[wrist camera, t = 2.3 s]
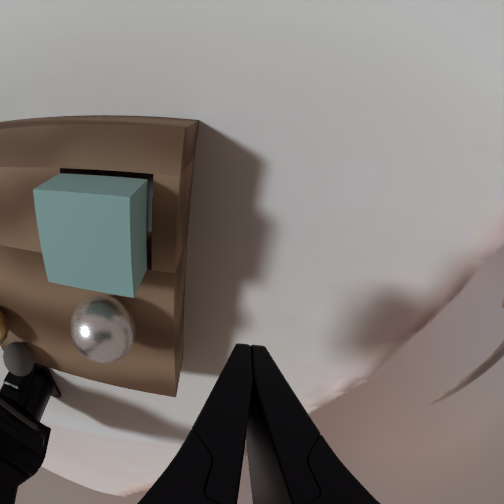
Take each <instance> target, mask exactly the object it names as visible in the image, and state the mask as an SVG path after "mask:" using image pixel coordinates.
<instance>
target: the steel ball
mask: <svg viewBox="0 0 504 504" xmlns="http://www.w3.org/2000/svg"><path fill="white" fill-rule="evenodd" d="M70 330H71V336H72V339H73V342H74V344H75V346H76V347H77V349H78V350H79V351H80V353H81V354H83V355H84V356H85V357H86V358H88V359H90V360H92V361H94V362H97V363H112V362H116V361H118V360H120V359H121V358H123V357H124V356H125V355H126V354H127V353H128V352H129V351H130V349H131V348H132V346H133V343H134V340H135V333H136V330H135V323H134V320H133V317H132V315H131V313H130V311H129V310H128V309H127V307H126V306H125V305H124V304H123V303H121V302H120V301H119V300H117V299H115V298H113V297H110V296H105V295H97V296H92V297H89V298H87V299H85V300H84V301H83V302H81V303H80V304H79V305H78V306H77V308H76V309H75V311H74V313H73V315H72V319H71V325H70Z"/></svg>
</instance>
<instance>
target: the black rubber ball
mask: <svg viewBox="0 0 504 504" xmlns="http://www.w3.org/2000/svg"><path fill="white" fill-rule="evenodd" d="M3 358H4V363H5V366H6V367H7V369H8V370H9V371H10V372H11V373H12V374H14V375H16V376H25V375H27V374H29V373H30V372H31V370H32V369H33V366H34V357H33V354H32V352H31V350H30V349H29V347H28V346H27V345H25V344H24V343H21V342H12V343H10V344H9V345H7V347H6V348H5V350H4V354H3Z"/></svg>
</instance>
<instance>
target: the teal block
mask: <svg viewBox="0 0 504 504" xmlns="http://www.w3.org/2000/svg"><path fill="white" fill-rule="evenodd" d="M147 182H148V179H138V178H126V177H113V176H99V175H83V174H63V173H60V174H58V175H56V176H54V177H53V178H51V179H49V180H48V181H46V182H44V183H43V184H41V185H39V186H38V187H36V188H35V189H33V194H34V203H35V212H36V219H37V226H38V232H39V239H40V244H41V250H42V255H43V260H44V265H45V269H46V274H47V278H48V282H52V283H57V284H61V285H66V286H71V287H76V288H81V289H86V290H92V291H97V292H102V293H108V294H114V295H119V296H125V297H131V298H134V296H135V294H136V292H137V290H138V288H139V285H140V283H141V281H142V279H143V277H144V275H145V272H146V270H147V251H146V217H147Z"/></svg>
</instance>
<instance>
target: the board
mask: <svg viewBox="0 0 504 504" xmlns="http://www.w3.org/2000/svg"><path fill="white" fill-rule="evenodd" d="M198 123H199V120H191V119H179V118H165V117H147V116H107V115H101V116H63V117H46V118H33V119H22V120H13V121H5V122H0V310H1V311H2V312H3V313H4V314H5V316H6V318H7V320H8V324H9V332H8V336H7V338H6V340H5V341H4V342H3V343H2V344H0V345H1V347H2V349H3V351H4V350H5V348H6V347H7V345H9V344H10V343H12V342H21V343H24V344H25V345H27V346H28V347H29V349H30V350H31V352H32V354H33V357H34V362H35V363H38V364H41V365H44V366H47V367H50V368H53V369H56V370H59V371H62V372H66V373H69V374H72V375H76V376H79V377H83V378H87V379H90V380H94V381H98V382H102V383H106V384H110V385H115V386H119V387H124V388H128V389H133V390H138V391H143V392H149V393H154V394H160V395H166V396H172V397H176V394H177V388H178V382H179V377H180V371H181V365H182V360H183V314H184V286H185V265H186V248H187V233H188V220H189V208H190V196H191V185H192V175H193V166H194V156H195V148H196V139H197V131H198ZM95 170H110V171H124V172H136V173H148V174H154V176H153V197H152V232H146V251H147V270H146V272H145V275H144V277H143V279H142V281H141V283H140V285H139V288H138V290H137V292H136V294H135V296H134V298H131V297H125V296H119V295H114V294H108V293H102V292H97V291H92V290H86V289H81V288H76V287H71V286H66V285H61V284H57V283H52V282H48V278H47V274H46V269H45V265H44V260H43V255H42V250H41V244H40V239H39V232H38V226H37V219H36V212H35V203H34V194H33V189H35V188H36V187H38V186H39V185H41V184H43V183H44V182H46V181H48V180H49V179H51V178H53V177H54V176H56V175H58V174H60V173H63V174H83V175H95ZM97 295H105V296H110V297H113V298H115V299H117V300H119V301H120V302H121V303H123V304H124V305H125V306H126V307H127V309H128V310H129V311H130V313H131V315H132V317H133V320H134V323H135V330H136V333H135V340H134V343H133V346H132V348H131V349H130V351H129V352H128V353H127V354H126V355H125V356H124V357H123V358H121V359H120V360H118V361H116V362H112V363H97V362H94V361H92V360H90V359H88V358H86V357H85V356H84V355H83V354H81V353H80V351H79V350H78V349H77V347H76V346H75V344H74V342H73V339H72V336H71V330H70V325H71V319H72V315H73V313H74V311H75V309H76V308H77V306H78V305H79V304H80V303H81V302H83V301H84V300H85V299H87V298H89V297H92V296H97Z"/></svg>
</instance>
